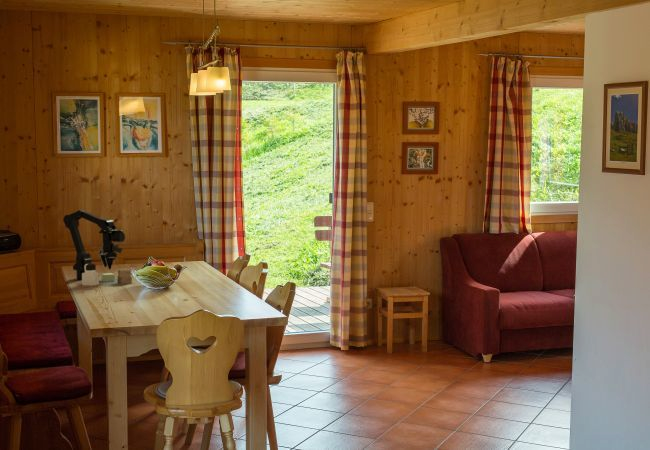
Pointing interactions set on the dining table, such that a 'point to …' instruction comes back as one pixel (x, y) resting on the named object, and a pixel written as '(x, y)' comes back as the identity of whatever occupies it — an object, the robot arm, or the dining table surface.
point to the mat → (112, 283)
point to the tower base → (124, 280)
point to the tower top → (124, 272)
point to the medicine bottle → (90, 275)
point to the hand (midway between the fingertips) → (107, 268)
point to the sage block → (108, 277)
